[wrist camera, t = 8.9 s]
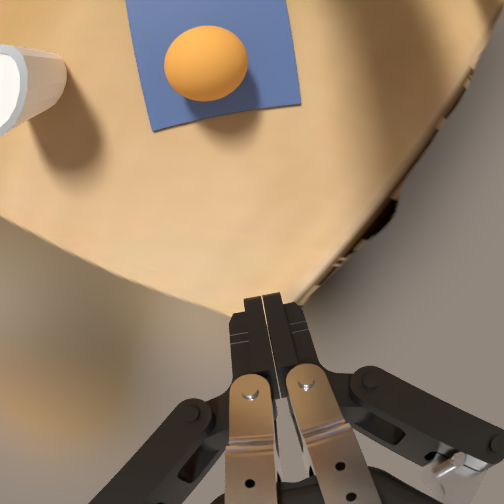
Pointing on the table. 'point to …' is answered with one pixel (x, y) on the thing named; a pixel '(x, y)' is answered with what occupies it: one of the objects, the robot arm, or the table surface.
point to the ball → (206, 63)
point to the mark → (228, 17)
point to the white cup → (28, 84)
